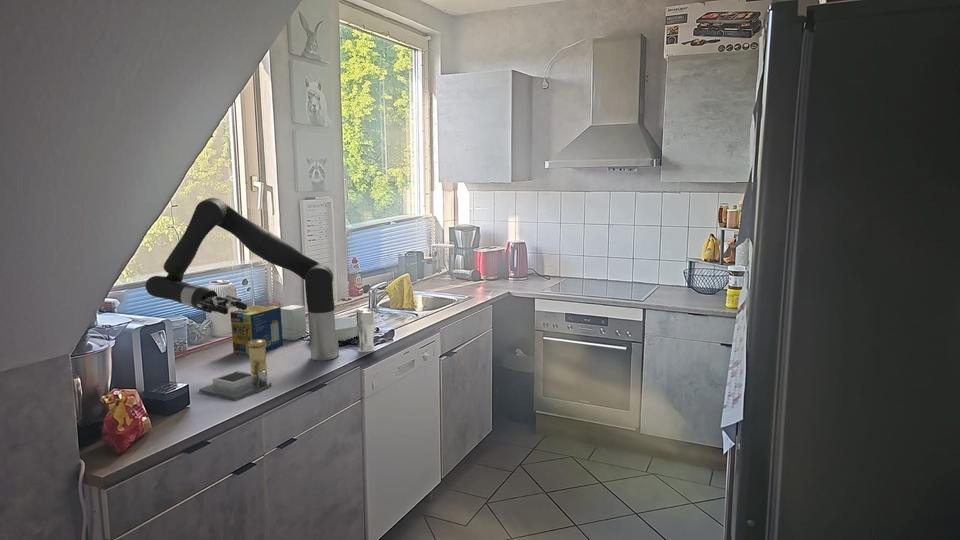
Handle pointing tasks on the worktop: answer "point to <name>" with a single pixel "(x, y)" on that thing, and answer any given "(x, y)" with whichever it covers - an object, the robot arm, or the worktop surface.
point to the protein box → (256, 327)
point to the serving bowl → (346, 328)
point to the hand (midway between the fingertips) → (237, 309)
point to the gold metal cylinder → (257, 356)
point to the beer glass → (365, 329)
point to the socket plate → (237, 385)
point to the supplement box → (293, 322)
